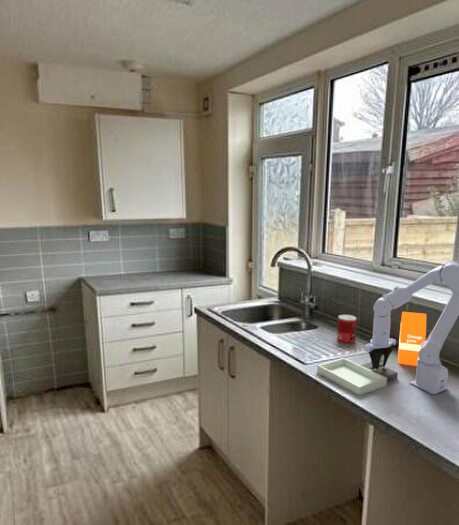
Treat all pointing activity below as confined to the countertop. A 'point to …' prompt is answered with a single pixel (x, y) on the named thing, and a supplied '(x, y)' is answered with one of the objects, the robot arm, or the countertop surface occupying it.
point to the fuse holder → (386, 372)
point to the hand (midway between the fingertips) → (378, 366)
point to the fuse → (380, 364)
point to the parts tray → (352, 376)
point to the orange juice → (411, 337)
